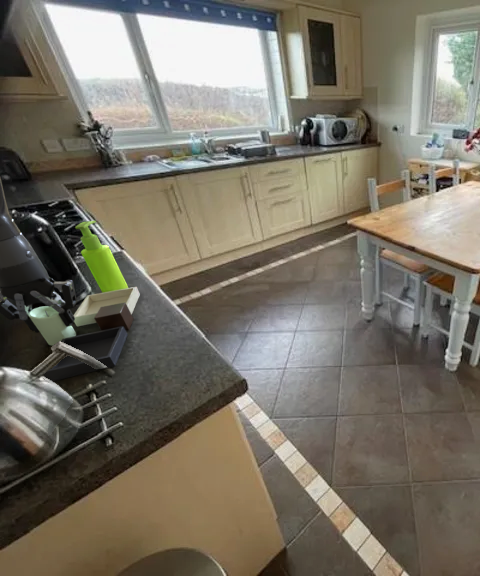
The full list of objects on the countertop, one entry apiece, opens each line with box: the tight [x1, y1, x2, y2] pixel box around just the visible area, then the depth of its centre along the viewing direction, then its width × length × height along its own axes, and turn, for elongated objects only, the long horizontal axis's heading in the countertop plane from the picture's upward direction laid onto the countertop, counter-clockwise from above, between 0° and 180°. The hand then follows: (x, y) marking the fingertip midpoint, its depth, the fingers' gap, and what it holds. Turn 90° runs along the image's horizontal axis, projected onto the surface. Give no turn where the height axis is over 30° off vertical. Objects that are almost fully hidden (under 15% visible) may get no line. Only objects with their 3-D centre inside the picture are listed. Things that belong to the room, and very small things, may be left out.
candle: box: [28, 305, 77, 347], centre depth 73 cm, size 5×5×8 cm
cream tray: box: [73, 286, 141, 327], centre depth 85 cm, size 11×11×3 cm
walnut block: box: [94, 303, 134, 332], centre depth 78 cm, size 5×5×5 cm
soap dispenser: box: [74, 220, 129, 293], centre depth 89 cm, size 6×7×20 cm
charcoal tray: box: [44, 326, 128, 382], centre depth 69 cm, size 11×11×3 cm
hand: (55, 327), depth 73 cm, fingers closed on candle, 4 cm apart
